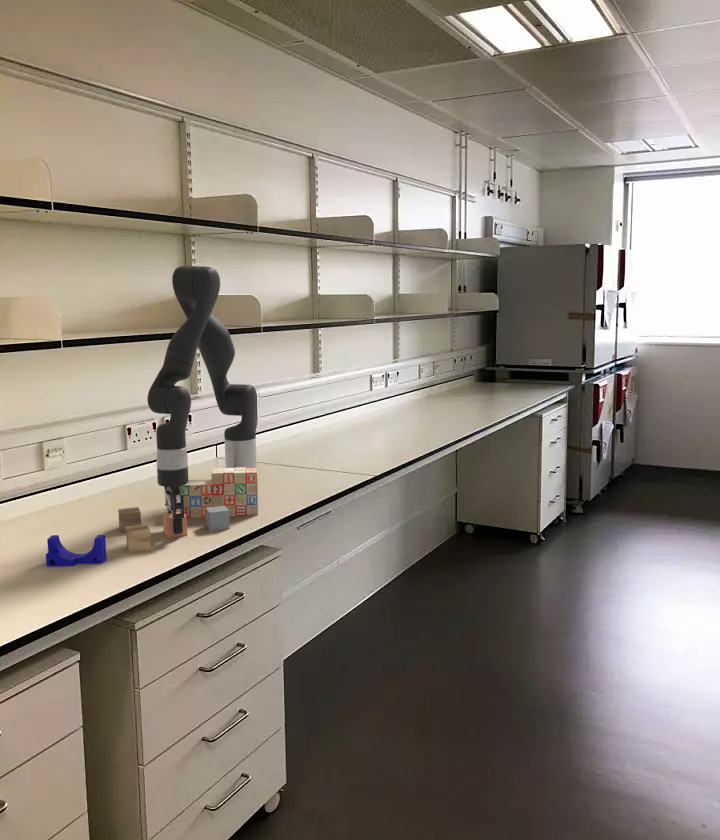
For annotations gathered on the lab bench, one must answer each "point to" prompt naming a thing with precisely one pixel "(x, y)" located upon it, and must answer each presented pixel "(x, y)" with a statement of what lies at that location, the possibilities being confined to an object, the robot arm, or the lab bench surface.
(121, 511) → the tan block
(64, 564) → the blue cradle bracket
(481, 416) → the lab bench surface
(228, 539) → the lab bench surface
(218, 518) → the gray block
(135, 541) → the oak block
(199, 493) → the stack of blocks
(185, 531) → the terracotta block
